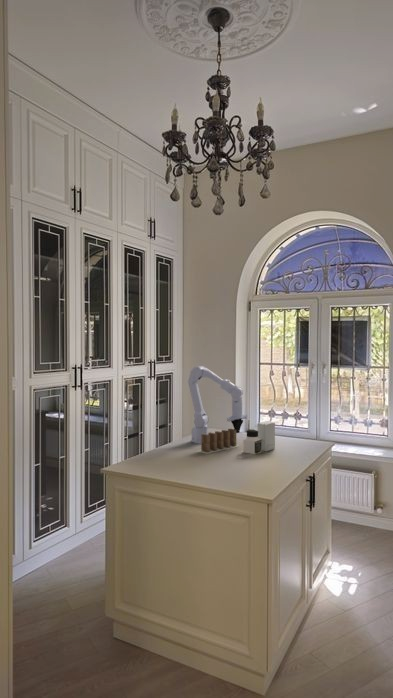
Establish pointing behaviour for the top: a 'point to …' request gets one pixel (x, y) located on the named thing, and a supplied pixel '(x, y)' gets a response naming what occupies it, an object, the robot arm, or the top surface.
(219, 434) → the domino
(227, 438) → the domino
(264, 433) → the skincare box
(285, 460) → the top surface
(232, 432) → the domino
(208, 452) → the domino mat
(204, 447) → the end domino
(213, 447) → the domino
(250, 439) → the medicine bottle
